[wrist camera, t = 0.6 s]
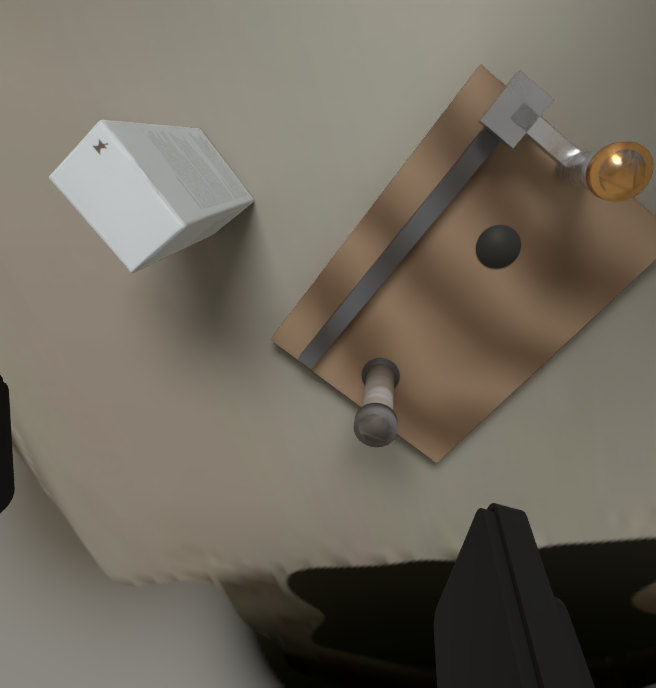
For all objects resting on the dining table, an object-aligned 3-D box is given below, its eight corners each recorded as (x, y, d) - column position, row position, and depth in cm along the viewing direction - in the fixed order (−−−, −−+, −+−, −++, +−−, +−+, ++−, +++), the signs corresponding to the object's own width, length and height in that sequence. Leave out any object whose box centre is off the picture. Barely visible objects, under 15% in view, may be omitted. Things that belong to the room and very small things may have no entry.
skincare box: (158, 167, 34) (42, 174, 23) (201, 127, 33) (99, 113, 22) (214, 238, 36) (129, 276, 25) (257, 202, 34) (189, 225, 23)
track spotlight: (512, 75, 28) (546, 51, 21) (609, 160, 29) (670, 162, 22) (475, 122, 29) (496, 113, 22) (569, 202, 30) (616, 216, 23)
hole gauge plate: (477, 68, 29) (506, 35, 21) (666, 233, 31) (762, 262, 23) (275, 332, 38) (239, 383, 29) (435, 452, 39) (444, 531, 31)
